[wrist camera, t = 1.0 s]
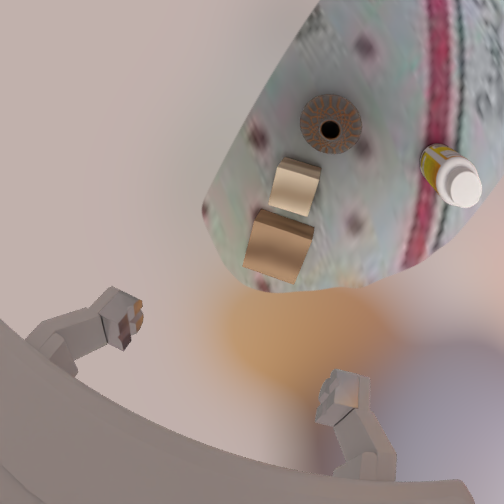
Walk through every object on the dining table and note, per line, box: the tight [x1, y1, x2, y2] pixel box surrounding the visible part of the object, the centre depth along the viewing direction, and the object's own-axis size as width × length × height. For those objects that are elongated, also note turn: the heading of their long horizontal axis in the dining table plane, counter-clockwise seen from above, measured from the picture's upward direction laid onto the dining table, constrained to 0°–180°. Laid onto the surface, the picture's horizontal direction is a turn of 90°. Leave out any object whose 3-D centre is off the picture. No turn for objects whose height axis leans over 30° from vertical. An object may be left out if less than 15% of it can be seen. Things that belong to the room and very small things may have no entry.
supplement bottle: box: [420, 144, 482, 208], centre depth 26 cm, size 6×6×10 cm
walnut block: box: [243, 209, 314, 284], centre depth 42 cm, size 8×8×4 cm
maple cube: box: [268, 157, 321, 217], centre depth 36 cm, size 5×5×5 cm
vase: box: [300, 94, 362, 154], centre depth 29 cm, size 7×7×9 cm
